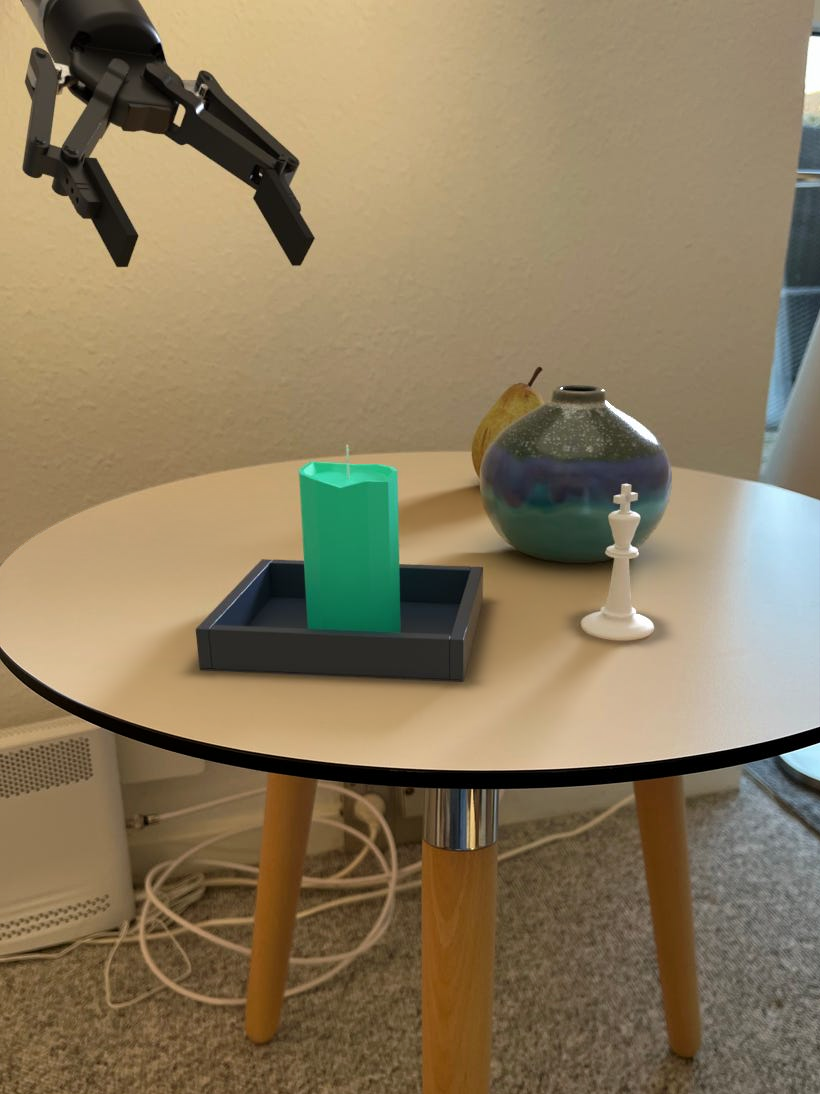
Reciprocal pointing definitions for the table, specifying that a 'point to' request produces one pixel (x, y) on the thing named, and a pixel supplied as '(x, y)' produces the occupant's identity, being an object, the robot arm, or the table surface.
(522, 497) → the vase
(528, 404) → the fruit
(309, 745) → the table surface
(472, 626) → the tray
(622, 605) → the chess piece
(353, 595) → the candle
